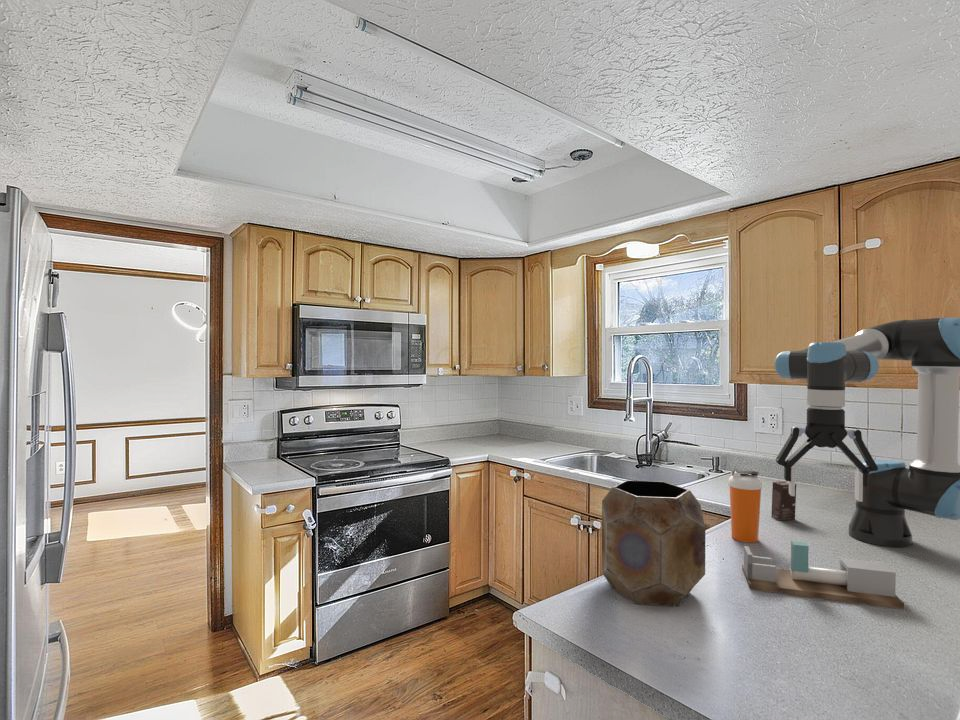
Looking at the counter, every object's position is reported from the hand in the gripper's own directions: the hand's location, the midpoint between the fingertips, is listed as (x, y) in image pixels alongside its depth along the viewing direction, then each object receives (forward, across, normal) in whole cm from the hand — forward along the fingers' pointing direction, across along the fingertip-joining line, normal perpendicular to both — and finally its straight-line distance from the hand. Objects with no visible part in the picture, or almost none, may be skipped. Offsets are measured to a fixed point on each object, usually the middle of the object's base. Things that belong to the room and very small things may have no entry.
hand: (824, 497), depth 124 cm
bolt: (+20, -3, +1) cm, 20 cm away
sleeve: (+20, -8, +1) cm, 22 cm away
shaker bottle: (+21, +13, -30) cm, 39 cm away
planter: (+22, +39, +15) cm, 47 cm away
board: (+21, +2, +1) cm, 21 cm away
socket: (+20, +14, +1) cm, 24 cm away
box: (+21, -2, -55) cm, 59 cm away
